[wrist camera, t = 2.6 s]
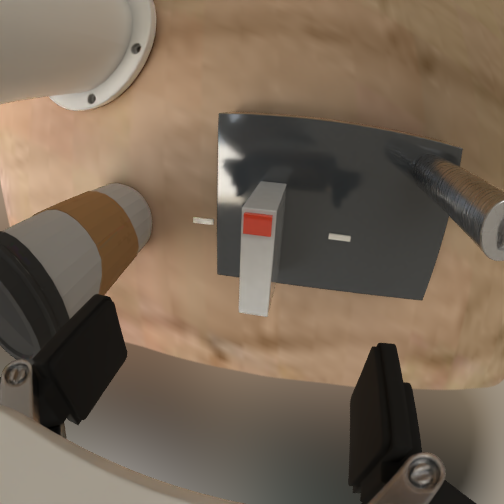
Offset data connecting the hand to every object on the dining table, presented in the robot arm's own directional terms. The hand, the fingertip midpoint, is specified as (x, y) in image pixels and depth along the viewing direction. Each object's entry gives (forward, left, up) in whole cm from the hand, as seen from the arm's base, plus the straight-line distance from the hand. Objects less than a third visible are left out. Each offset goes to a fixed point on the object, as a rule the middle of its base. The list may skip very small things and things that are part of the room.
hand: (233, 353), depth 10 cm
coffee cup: (-12, -6, -15) cm, 20 cm away
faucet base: (+3, +3, -14) cm, 15 cm away
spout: (+9, +9, -11) cm, 17 cm away
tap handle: (0, 0, -11) cm, 11 cm away
